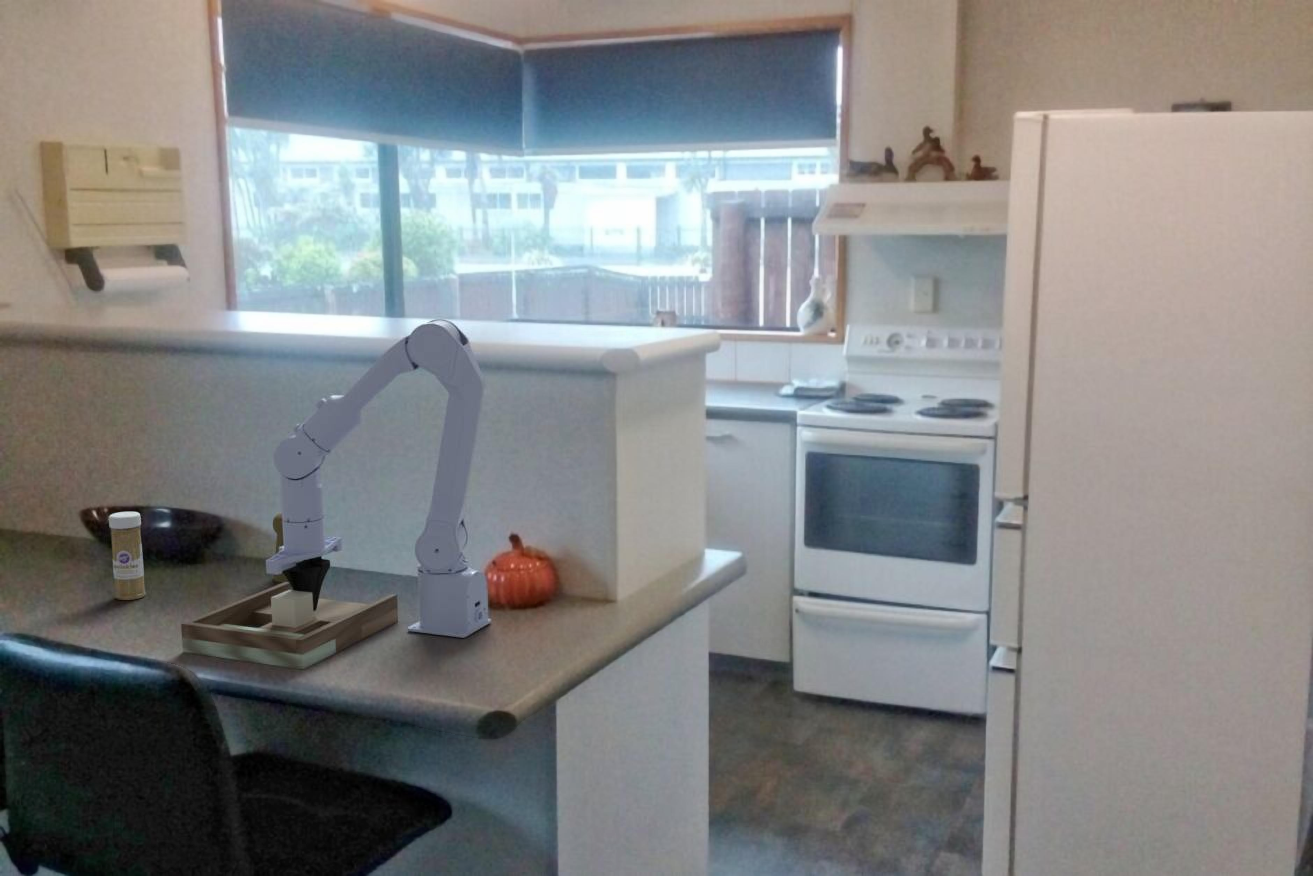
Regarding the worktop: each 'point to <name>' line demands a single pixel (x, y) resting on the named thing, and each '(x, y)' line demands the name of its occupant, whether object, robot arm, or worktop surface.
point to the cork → (279, 544)
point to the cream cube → (292, 608)
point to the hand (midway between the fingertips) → (308, 610)
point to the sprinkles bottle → (127, 555)
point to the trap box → (284, 630)
